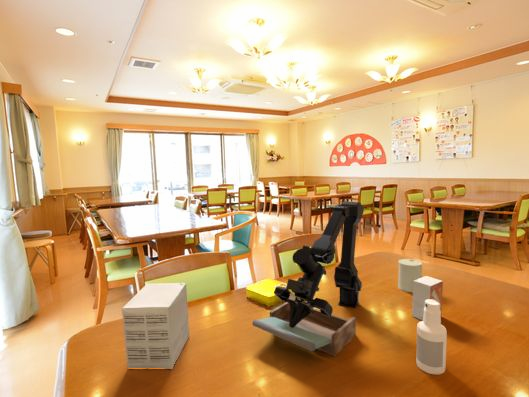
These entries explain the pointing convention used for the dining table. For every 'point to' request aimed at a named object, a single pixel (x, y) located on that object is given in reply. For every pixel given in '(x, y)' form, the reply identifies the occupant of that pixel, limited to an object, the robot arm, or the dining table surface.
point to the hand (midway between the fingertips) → (290, 327)
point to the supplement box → (156, 325)
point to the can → (409, 273)
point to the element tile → (265, 291)
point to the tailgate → (292, 333)
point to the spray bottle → (431, 340)
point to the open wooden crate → (323, 327)
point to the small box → (426, 294)
